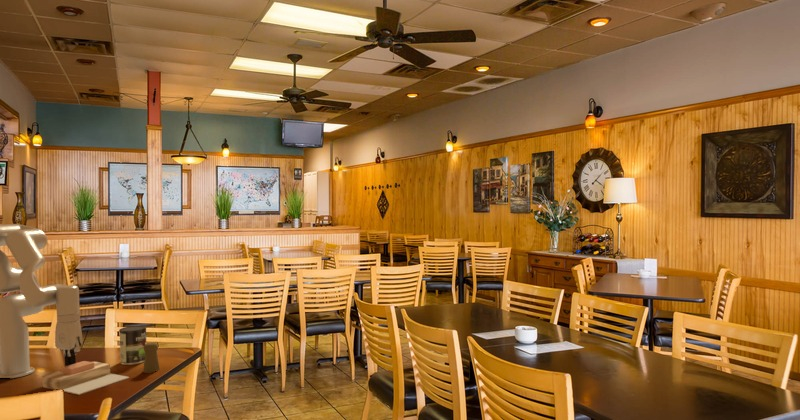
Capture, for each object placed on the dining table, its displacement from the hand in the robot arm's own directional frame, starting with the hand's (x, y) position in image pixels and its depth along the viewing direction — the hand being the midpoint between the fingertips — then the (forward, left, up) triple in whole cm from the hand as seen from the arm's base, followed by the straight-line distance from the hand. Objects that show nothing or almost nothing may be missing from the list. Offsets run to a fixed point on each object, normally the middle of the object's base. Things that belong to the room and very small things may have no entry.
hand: (70, 365), depth 212 cm
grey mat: (+15, 0, -5) cm, 15 cm away
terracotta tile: (+5, 0, -1) cm, 5 cm away
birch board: (+4, 0, -5) cm, 6 cm away
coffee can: (+2, +26, -5) cm, 27 cm away
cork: (+20, +20, -5) cm, 29 cm away
